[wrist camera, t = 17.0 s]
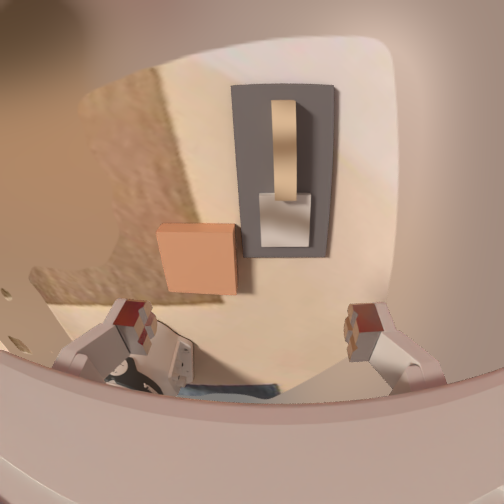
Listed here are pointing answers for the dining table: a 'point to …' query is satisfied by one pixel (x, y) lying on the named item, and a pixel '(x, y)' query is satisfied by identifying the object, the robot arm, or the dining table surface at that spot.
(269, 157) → the mat
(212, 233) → the tile
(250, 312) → the dining table surface
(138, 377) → the robot arm
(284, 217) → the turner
